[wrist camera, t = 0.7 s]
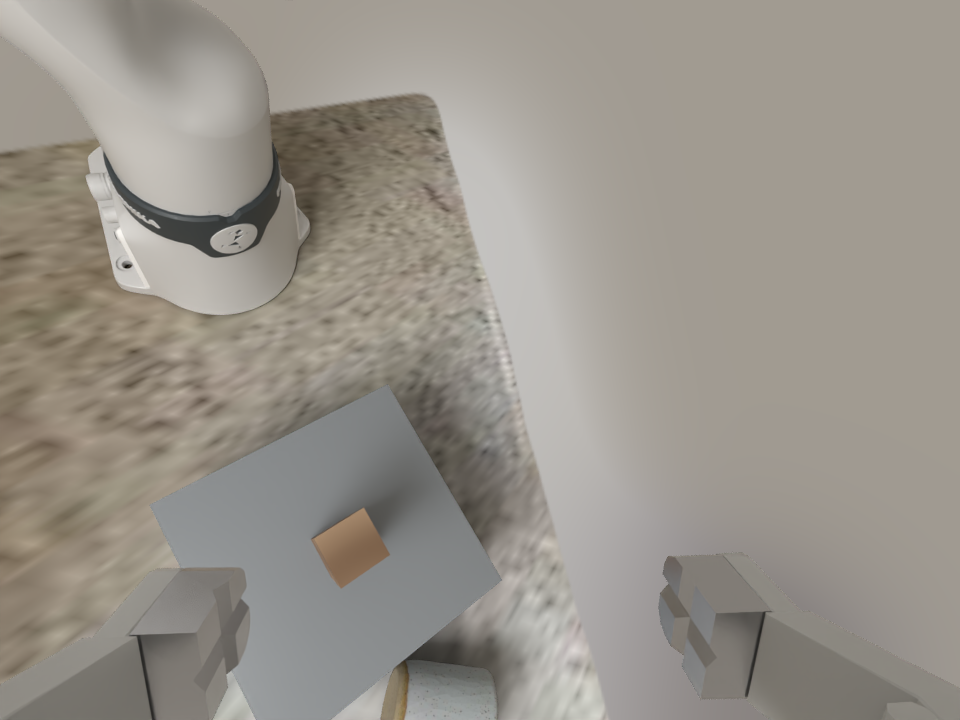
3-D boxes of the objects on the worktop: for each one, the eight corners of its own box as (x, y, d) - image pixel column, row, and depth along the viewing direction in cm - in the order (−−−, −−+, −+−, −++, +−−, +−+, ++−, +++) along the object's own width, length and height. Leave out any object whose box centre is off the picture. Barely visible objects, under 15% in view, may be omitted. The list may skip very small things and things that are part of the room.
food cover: (184, 513, 41) (98, 492, 24) (370, 414, 49) (409, 344, 32) (282, 708, 39) (269, 844, 22) (461, 572, 47) (556, 590, 30)
